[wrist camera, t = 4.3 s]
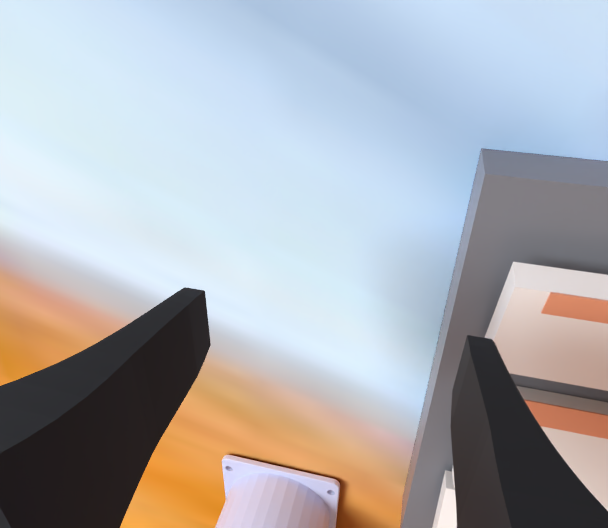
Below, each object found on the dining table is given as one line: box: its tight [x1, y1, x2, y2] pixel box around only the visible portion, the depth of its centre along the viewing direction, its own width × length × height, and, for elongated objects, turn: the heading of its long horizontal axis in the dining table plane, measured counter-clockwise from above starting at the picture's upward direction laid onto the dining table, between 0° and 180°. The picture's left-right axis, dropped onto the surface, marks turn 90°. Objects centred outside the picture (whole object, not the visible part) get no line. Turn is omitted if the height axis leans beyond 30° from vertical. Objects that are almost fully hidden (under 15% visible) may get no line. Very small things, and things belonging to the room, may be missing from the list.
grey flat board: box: [400, 149, 608, 528], centre depth 22 cm, size 30×12×2 cm, turn 179°
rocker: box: [452, 386, 608, 511], centre depth 21 cm, size 5×9×1 cm, turn 90°
